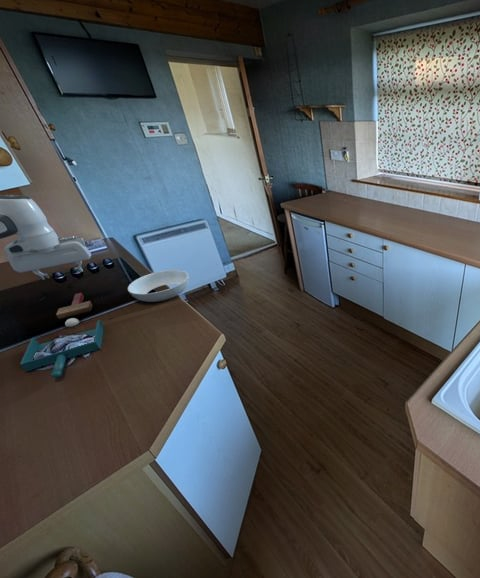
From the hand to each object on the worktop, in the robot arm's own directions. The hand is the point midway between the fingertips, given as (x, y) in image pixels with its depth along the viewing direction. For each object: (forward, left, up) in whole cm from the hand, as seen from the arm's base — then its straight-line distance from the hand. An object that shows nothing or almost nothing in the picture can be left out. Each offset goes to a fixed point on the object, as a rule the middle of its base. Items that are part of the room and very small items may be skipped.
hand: (64, 275), depth 111 cm
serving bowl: (+27, -10, -14) cm, 32 cm away
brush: (-1, -3, -14) cm, 14 cm away
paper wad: (-1, -17, -14) cm, 22 cm away
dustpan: (-1, -36, -14) cm, 38 cm away
